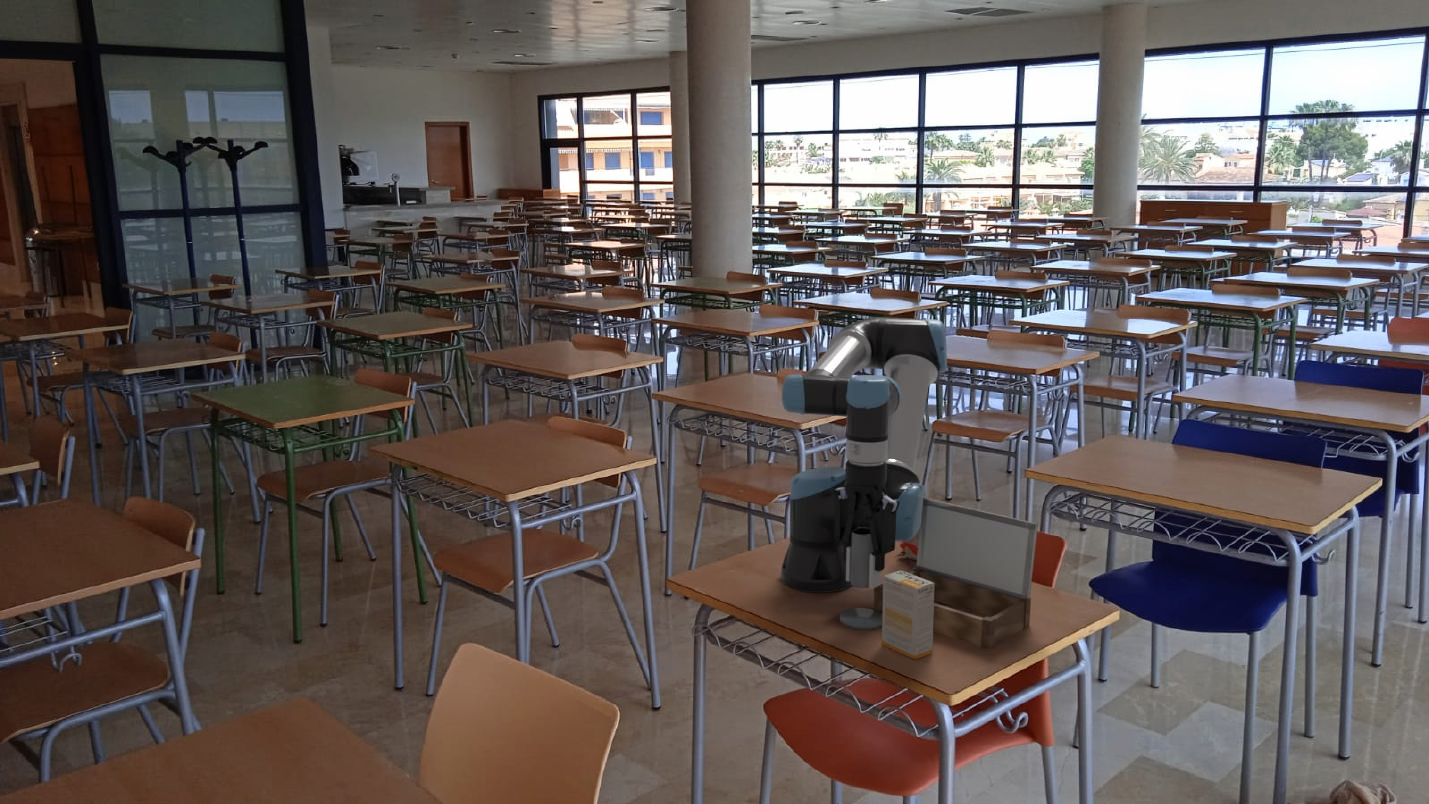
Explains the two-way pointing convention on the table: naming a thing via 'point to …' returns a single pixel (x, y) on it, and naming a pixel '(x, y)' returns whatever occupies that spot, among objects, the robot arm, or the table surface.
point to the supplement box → (908, 614)
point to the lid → (977, 547)
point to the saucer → (861, 619)
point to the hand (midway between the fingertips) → (863, 582)
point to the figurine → (911, 546)
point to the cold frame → (984, 632)
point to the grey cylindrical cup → (860, 557)
